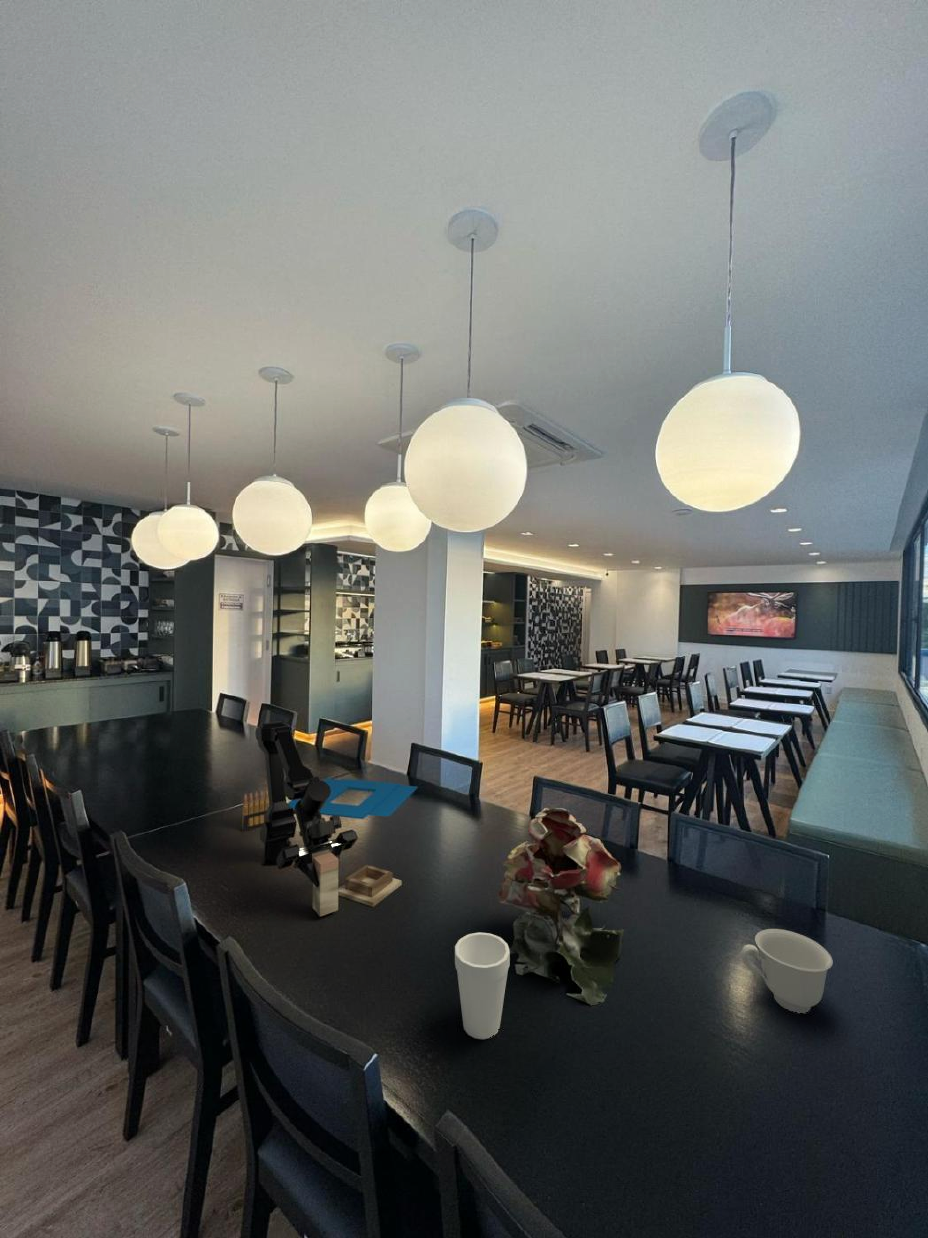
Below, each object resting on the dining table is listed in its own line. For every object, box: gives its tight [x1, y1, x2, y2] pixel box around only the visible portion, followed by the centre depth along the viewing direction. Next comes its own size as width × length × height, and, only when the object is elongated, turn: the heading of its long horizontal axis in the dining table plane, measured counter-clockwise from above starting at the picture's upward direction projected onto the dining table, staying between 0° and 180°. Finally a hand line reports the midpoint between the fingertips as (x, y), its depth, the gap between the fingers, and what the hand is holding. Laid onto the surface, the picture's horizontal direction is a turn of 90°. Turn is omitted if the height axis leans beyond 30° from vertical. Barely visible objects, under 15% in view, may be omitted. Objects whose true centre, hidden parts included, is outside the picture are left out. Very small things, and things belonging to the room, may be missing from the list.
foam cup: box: [454, 931, 511, 1040], centre depth 88 cm, size 10×9×13 cm
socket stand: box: [338, 864, 403, 908], centre depth 132 cm, size 12×12×4 cm
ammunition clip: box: [240, 788, 269, 832], centre depth 171 cm, size 11×2×12 cm, turn 131°
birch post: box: [312, 852, 340, 917], centre depth 121 cm, size 4×4×12 cm
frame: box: [287, 778, 419, 820], centre depth 199 cm, size 42×36×2 cm
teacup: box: [740, 928, 834, 1014], centre depth 95 cm, size 12×15×10 cm
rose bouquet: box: [497, 807, 625, 1007], centre depth 110 cm, size 26×29×30 cm
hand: (328, 883), depth 120 cm, fingers closed on birch post, 4 cm apart
